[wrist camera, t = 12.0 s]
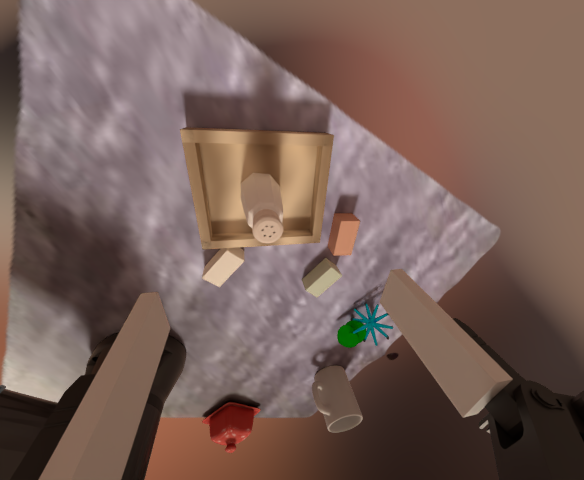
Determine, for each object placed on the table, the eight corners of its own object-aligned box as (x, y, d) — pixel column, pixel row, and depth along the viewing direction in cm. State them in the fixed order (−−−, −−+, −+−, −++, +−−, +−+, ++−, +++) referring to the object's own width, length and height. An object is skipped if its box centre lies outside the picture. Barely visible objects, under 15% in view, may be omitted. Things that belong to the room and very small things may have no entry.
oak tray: (205, 238, 32) (202, 249, 29) (186, 127, 24) (180, 129, 22) (314, 232, 35) (319, 242, 32) (325, 132, 28) (333, 135, 25)
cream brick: (221, 274, 36) (219, 287, 33) (204, 265, 34) (201, 278, 32) (244, 249, 34) (244, 260, 32) (228, 239, 33) (226, 250, 30)
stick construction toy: (375, 296, 43) (401, 334, 40) (379, 293, 49) (402, 326, 46) (326, 324, 47) (347, 361, 44) (335, 319, 53) (354, 351, 50)
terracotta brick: (343, 245, 38) (351, 255, 35) (327, 245, 37) (333, 255, 34) (351, 212, 35) (360, 221, 32) (333, 212, 34) (341, 221, 31)
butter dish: (234, 423, 63) (233, 463, 56) (200, 416, 57) (194, 460, 50) (262, 404, 60) (265, 443, 53) (229, 395, 55) (227, 438, 48)
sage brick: (312, 285, 41) (317, 297, 39) (301, 278, 40) (305, 290, 37) (335, 265, 40) (342, 275, 37) (325, 256, 38) (331, 267, 36)
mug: (350, 368, 59) (370, 416, 50) (330, 385, 62) (345, 433, 53) (318, 359, 54) (334, 411, 45) (297, 378, 57) (308, 430, 47)
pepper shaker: (285, 204, 30) (303, 245, 21) (247, 216, 30) (250, 263, 21) (273, 165, 27) (289, 194, 18) (232, 178, 27) (226, 214, 18)
